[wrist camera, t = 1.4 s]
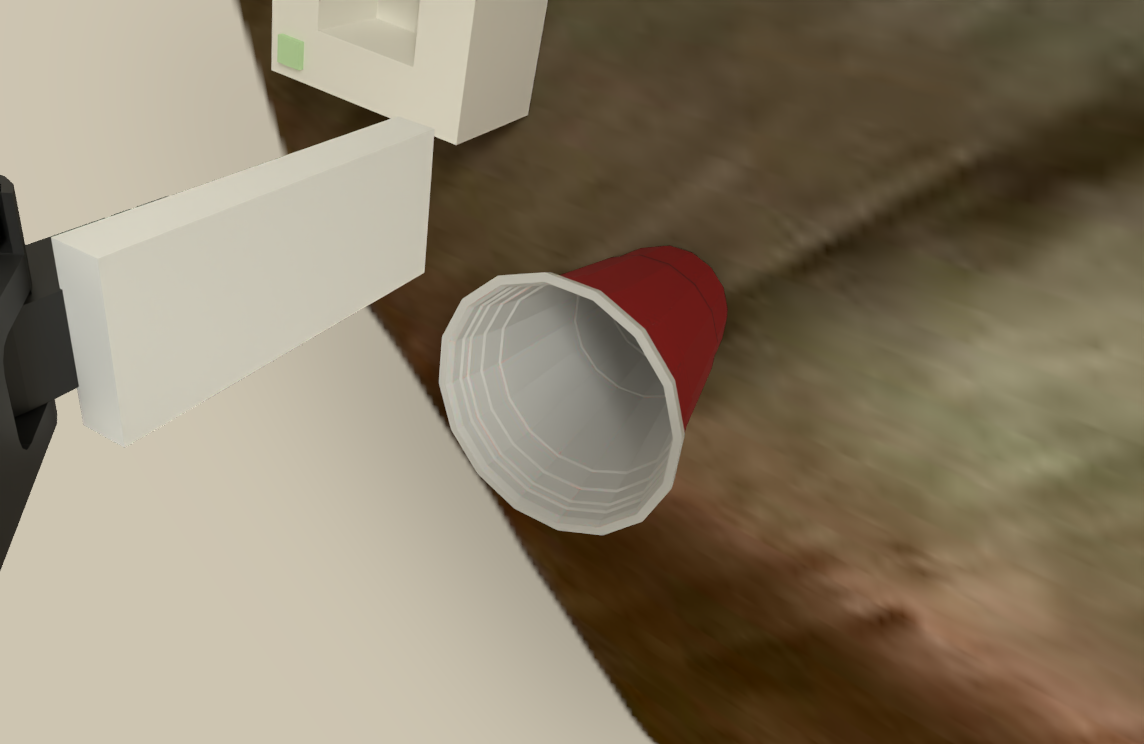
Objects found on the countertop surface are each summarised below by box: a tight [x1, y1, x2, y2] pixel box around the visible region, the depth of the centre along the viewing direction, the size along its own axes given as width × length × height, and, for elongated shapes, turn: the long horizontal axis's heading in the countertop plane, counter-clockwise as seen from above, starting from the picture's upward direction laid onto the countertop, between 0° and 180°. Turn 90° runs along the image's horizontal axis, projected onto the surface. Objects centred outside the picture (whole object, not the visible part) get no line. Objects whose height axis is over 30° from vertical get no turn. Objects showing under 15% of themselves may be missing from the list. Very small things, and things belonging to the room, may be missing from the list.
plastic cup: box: [439, 246, 728, 535], centre depth 39 cm, size 11×11×12 cm
